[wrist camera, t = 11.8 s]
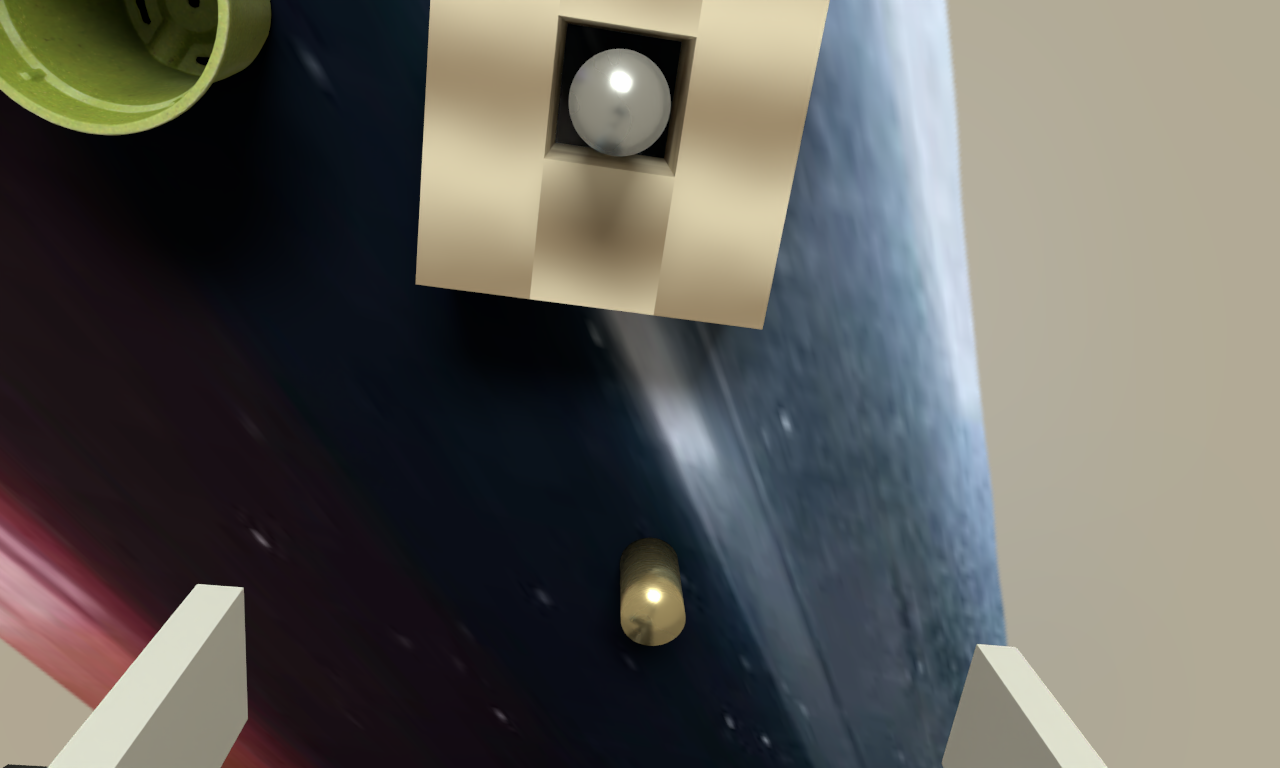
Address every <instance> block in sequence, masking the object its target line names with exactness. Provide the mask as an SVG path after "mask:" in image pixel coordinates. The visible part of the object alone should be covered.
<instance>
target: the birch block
mask: <svg viewBox="0 0 1280 768" xmlns="http://www.w3.org/2000/svg"><path fill="white" fill-rule="evenodd" d="M829 1H830V0H431V1H430V20H429V39H428V59H427V78H426V97H425V116H424V135H423V154H422V173H421V192H420V211H419V230H418V250H417V269H416V284H418V285H425V286H433V287H441V288H448V289H456V290H464V291H471V292H479V293H487V294H494V295H502V296H510V297H517V298H525V299H532V300H540V301H548V302H555V303H563V304H571V305H578V306H586V307H594V308H601V309H609V310H617V311H624V312H632V313H640V314H647V315H655V316H663V317H670V318H678V319H686V320H693V321H701V322H709V323H716V324H724V325H732V326H739V327H747V328H755V329H763V324H764V319H765V314H766V309H767V304H768V300H769V295H770V290H771V285H772V280H773V275H774V270H775V265H776V260H777V256H778V251H779V246H780V241H781V236H782V231H783V226H784V221H785V216H786V211H787V207H788V202H789V197H790V192H791V187H792V182H793V177H794V172H795V167H796V162H797V158H798V153H799V148H800V143H801V138H802V133H803V128H804V123H805V118H806V113H807V109H808V104H809V99H810V94H811V89H812V84H813V79H814V74H815V69H816V64H817V60H818V55H819V50H820V45H821V40H822V35H823V30H824V25H825V20H826V16H827V11H828V6H829ZM568 24H571V25H578V26H584V27H590V28H597V29H603V30H609V31H616V32H622V33H628V34H635V35H641V36H647V37H654V38H660V39H667V40H673V41H679V42H681V48H680V55H679V61H678V68H677V75H676V81H675V88H674V95H673V101H672V108H671V115H670V121H669V128H668V135H667V141H666V148H665V155H664V158H659V157H652V156H645V155H638V154H634V155H629V156H621V157H620V156H611V155H606V154H603V153H601V152H599V151H597V150H595V149H593V148H591V147H584V146H577V145H570V144H563V143H556V142H555V140H556V131H557V121H558V112H559V102H560V93H561V83H562V74H563V64H564V55H565V45H566V36H567V26H568Z"/></svg>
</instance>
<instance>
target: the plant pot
mask: <svg viewBox="0 0 1280 768" xmlns="http://www.w3.org/2000/svg"><path fill="white" fill-rule="evenodd" d="M145 5H146V8H147V12H148V16H149V18H150V20H151V23H150V24H149V25H148V24H147V23H145V22H144V21H143V20H142V17H141V14H140V10H139V8H138V6H137V4H136V0H0V90H2V91H3V92H4V93H5V94H7V95H8V96H9V97H10V98H11V99H12V100H14V101H15V102H17V103H18V104H19V105H21V106H22V107H24V108H25V109H27V110H29V111H31V112H32V113H34V114H36V115H38V116H40V117H42V118H43V119H45V120H47V121H49V122H52V123H54V124H56V125H60V126H62V127H65V128H68V129H72V130H76V131H79V132H83V133H90V134H98V135H124V134H132V133H137V132H142V131H146V130H149V129H152V128H155V127H158V126H160V125H162V124H165V123H167V122H169V121H171V120H173V119H175V118H177V117H178V116H180V115H181V114H183V113H184V112H186V111H187V110H189V109H190V108H191V107H192V106H193V105H194V104H195V103H196V102H197V101H198V100H199V99H200V98H201V97H202V96H203V95H204V94H205V93H206V91H207V90H208V89H209V87H210V86H211V84H212V83H214V82H217V81H219V80H222V79H225V78H227V77H229V76H231V75H233V74H236V73H238V72H240V71H242V70H243V69H245V68H246V67H247V66H249V65H250V64H251V63H252V62H253V60H254V59H255V58H256V56H257V55H258V53H259V52H260V50H261V48H262V46H263V44H264V42H265V41H266V39H267V37H268V34H269V30H270V24H271V4H270V0H200V4H199V7H196V8H194V7H192V6H190V4H189V1H188V0H145ZM197 57H210V59H209V61H208V63H207V65H206V66H204V65H201V64H199V63H198V62H197V61H196V58H197Z"/></svg>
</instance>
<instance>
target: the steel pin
mask: <svg viewBox="0 0 1280 768" xmlns="http://www.w3.org/2000/svg"><path fill="white" fill-rule="evenodd" d="M670 109H671V96H670V91H669V87H668V84H667V81H666V79H665V77H664V75H663V74H662V72H661V70H660V69H659V68H658V67H657V65H656V64H655V63H653V62H652V61H651V60H650V59H649V58H647V57H646V56H644V55H642V54H640V53H638V52H635V51H632V50H628V49H611V50H606V51H603V52H601V53H598V54H597V55H595V56H593V57H592V58H590V59H589V60H587V61H586V62H585V63H584V64H583V65H582V67H581V68H580V69H579V70H578V72H577V74H576V75H575V77H574V79H573V82H572V84H571V88H570V92H569V112H570V117H571V120H572V123H573V125H574V127H575V129H576V131H577V133H578V134H579V136H580V137H581V138H582V139H583V140H584V141H585V142H586V143H587V144H588V145H589V146H590V147H592V148H593V149H595V150H597V151H599V152H601V153H603V154H606V155H611V156H620V157H621V156H629V155H634V154H637V153H639V152H641V151H643V150H645V149H647V148H648V147H650V146H651V145H652V144H653V143H654V142H655V141H656V140H657V139H658V138H659V137H660V135H661V134H662V132H663V131H664V129H665V127H666V125H667V122H668V119H669V115H670Z"/></svg>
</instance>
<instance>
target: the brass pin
mask: <svg viewBox="0 0 1280 768" xmlns="http://www.w3.org/2000/svg"><path fill="white" fill-rule="evenodd" d="M620 600H621V625H622V628H623V630H624V632H625V633H626V635H627V636H628V637H629V638H631V639H632V640H633V641H635V642H637V643H640V644H643V645H648V646H656V645H662V644H665V643H667V642H670V641H671V640H673V639H674V638H676V637H677V636H678V635H679V634H680V632H681V631H682V629H683V627H684V624H685V610H684V602H683V595H682V587H681V580H680V572H679V565H678V558H677V555H676V552H675V550H674V549H673V548H672V547H671V546H670V545H669V544H668V543H666V542H665V541H663V540H660V539H656V538H643V539H639V540H637V541H634V542H633V543H631V544H630V545H628V546H627V547H626V549H625V550H624V551H623V553H622V555H621V558H620Z"/></svg>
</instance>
